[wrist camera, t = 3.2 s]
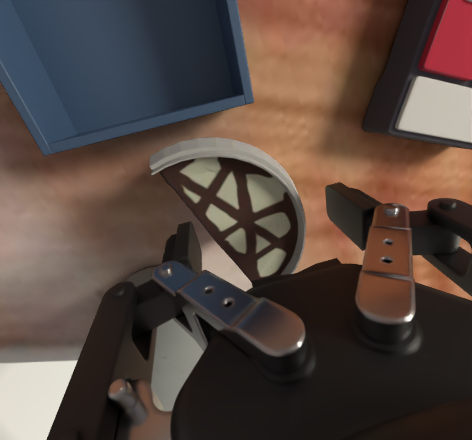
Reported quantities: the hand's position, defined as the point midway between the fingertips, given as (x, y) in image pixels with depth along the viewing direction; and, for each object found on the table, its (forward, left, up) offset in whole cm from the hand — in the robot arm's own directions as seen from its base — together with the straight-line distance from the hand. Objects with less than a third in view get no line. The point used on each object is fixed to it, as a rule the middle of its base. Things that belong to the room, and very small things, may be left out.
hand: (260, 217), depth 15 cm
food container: (0, 0, -10) cm, 10 cm away
